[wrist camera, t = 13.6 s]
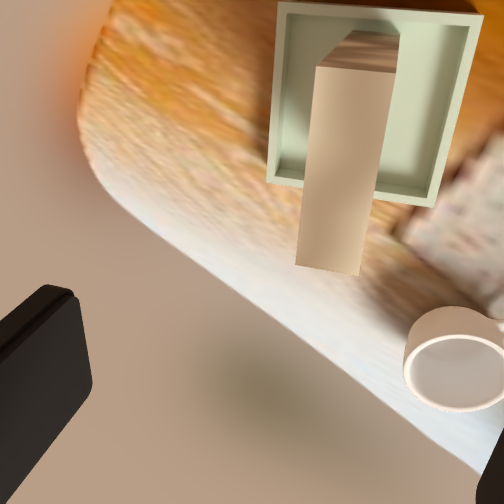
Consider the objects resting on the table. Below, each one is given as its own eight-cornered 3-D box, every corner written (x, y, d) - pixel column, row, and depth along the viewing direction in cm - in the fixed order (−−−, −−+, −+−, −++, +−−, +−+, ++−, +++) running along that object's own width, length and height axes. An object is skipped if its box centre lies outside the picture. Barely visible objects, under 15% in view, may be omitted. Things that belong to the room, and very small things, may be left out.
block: (400, 33, 30) (396, 73, 18) (375, 168, 35) (358, 276, 22) (352, 30, 31) (316, 66, 19) (334, 163, 36) (295, 264, 23)
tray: (478, 12, 29) (484, 15, 27) (432, 194, 35) (433, 207, 33) (286, -1, 32) (277, 1, 30) (273, 171, 38) (265, 182, 36)
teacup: (434, 378, 43) (438, 424, 39) (384, 317, 42) (382, 359, 37) (549, 334, 38) (568, 381, 34) (497, 263, 37) (510, 303, 32)
